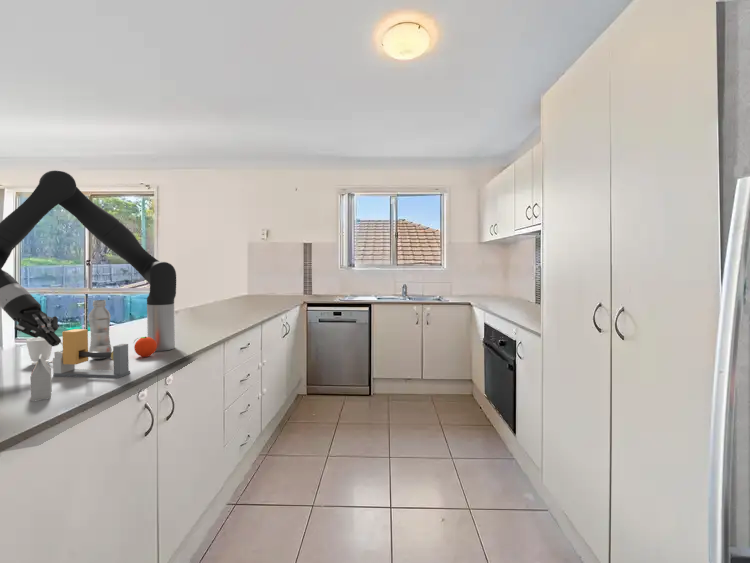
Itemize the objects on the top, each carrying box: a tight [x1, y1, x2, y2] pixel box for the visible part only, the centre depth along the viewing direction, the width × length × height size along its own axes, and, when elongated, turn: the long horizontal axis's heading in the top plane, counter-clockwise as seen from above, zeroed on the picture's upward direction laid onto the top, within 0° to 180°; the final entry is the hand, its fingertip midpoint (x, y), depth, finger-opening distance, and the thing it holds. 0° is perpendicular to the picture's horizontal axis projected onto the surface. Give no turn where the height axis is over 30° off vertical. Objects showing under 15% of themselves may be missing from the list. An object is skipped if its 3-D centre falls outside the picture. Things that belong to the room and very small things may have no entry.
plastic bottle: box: [87, 299, 113, 360], centre depth 141 cm, size 6×7×20 cm
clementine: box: [133, 336, 157, 358], centre depth 146 cm, size 8×7×7 cm
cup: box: [25, 337, 63, 366], centre depth 136 cm, size 7×10×8 cm
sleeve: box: [61, 328, 89, 366], centre depth 122 cm, size 4×5×10 cm
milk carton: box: [30, 354, 53, 402], centre depth 103 cm, size 4×7×10 cm, turn 36°
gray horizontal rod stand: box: [52, 343, 131, 379], centre depth 122 cm, size 20×5×9 cm, turn 86°
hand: (57, 344), depth 123 cm, fingers closed
